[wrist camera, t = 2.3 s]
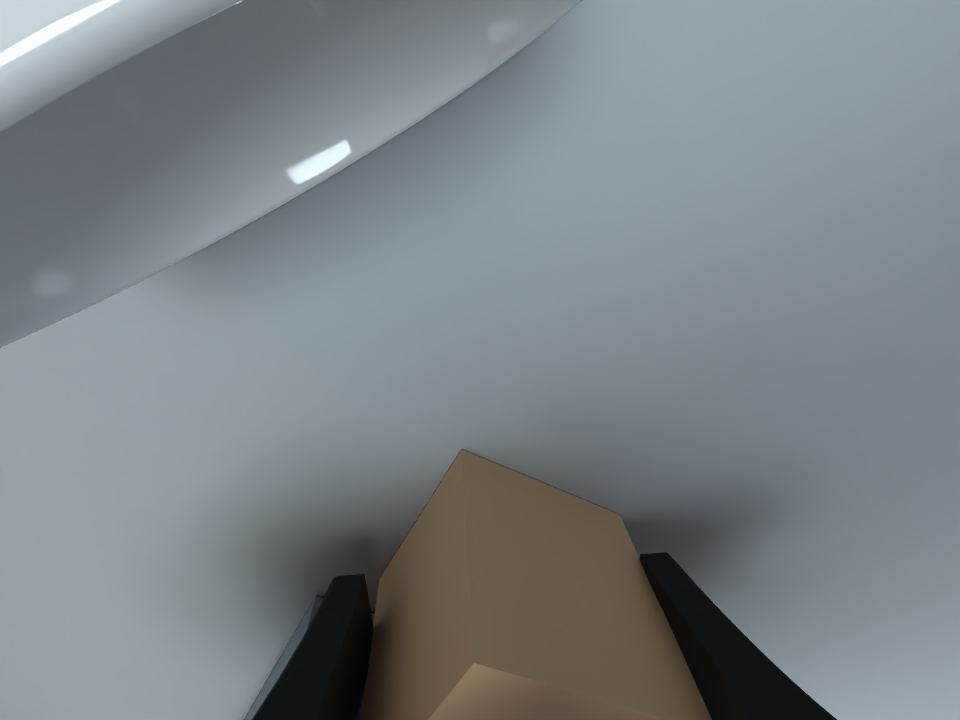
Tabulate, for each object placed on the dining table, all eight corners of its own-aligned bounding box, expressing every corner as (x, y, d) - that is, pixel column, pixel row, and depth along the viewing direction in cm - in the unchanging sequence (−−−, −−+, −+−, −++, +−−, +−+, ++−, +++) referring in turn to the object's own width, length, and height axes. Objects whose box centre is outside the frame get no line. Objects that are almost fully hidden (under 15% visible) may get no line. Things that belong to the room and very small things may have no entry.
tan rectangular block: (620, 514, 13) (717, 734, 8) (527, 625, 14) (566, 861, 10) (461, 449, 11) (474, 662, 7) (379, 578, 13) (346, 821, 9)
